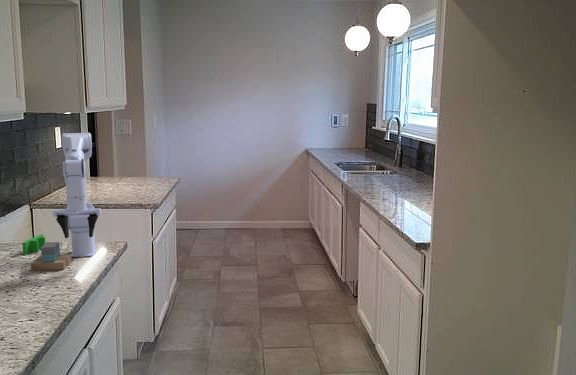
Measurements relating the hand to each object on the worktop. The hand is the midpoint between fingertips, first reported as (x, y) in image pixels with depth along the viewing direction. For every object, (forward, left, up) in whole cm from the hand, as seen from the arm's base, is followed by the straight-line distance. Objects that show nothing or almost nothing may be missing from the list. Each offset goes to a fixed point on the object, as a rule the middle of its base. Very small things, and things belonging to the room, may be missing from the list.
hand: (79, 236), depth 173 cm
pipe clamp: (-22, -21, -11) cm, 32 cm away
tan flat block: (-3, -10, -10) cm, 15 cm away
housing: (-2, -10, -8) cm, 13 cm away
